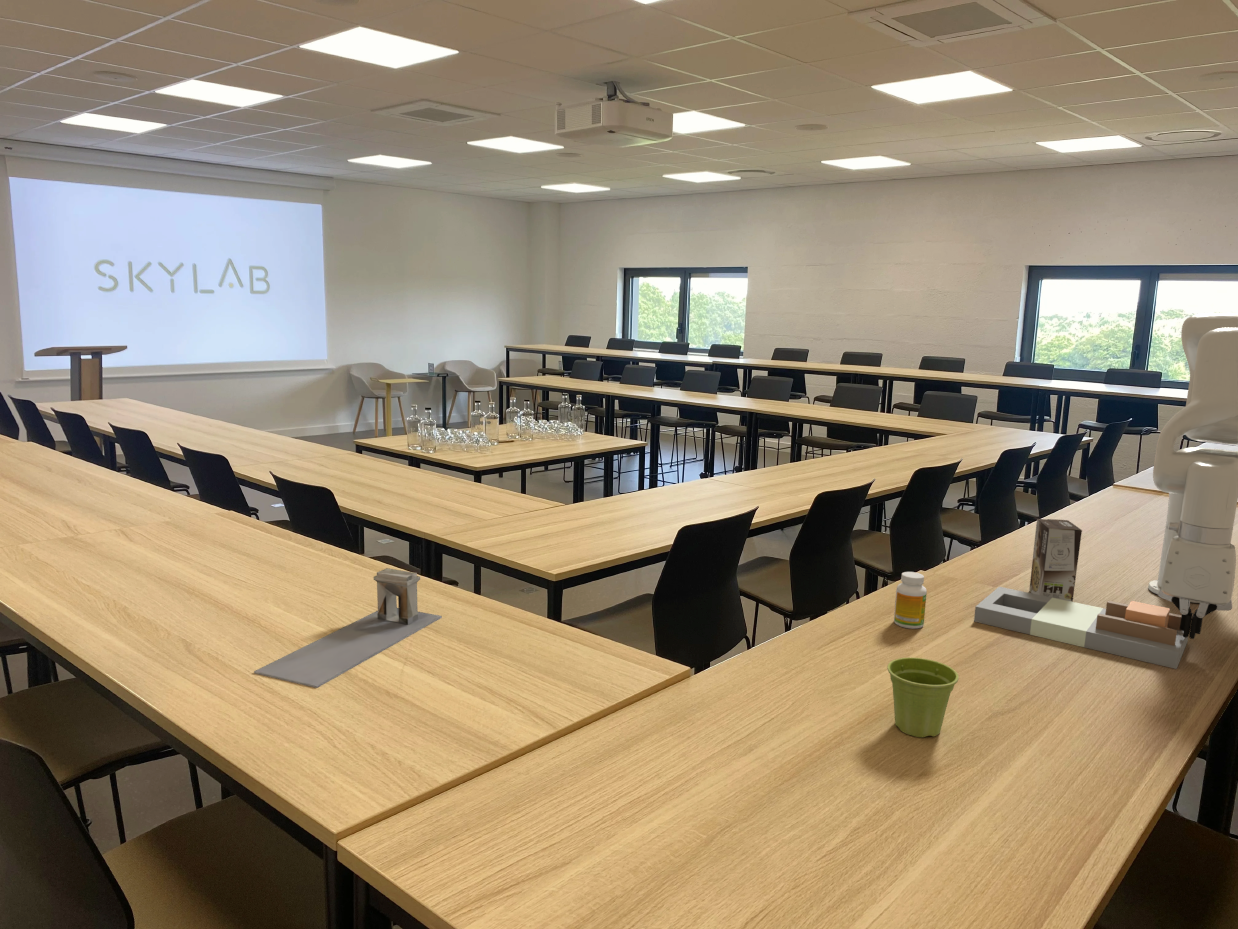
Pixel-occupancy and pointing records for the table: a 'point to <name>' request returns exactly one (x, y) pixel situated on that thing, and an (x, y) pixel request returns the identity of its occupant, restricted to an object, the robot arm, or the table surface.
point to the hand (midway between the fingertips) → (1189, 635)
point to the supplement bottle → (910, 601)
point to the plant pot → (920, 694)
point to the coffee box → (1055, 559)
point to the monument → (357, 635)
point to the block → (1147, 614)
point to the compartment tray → (1084, 625)
